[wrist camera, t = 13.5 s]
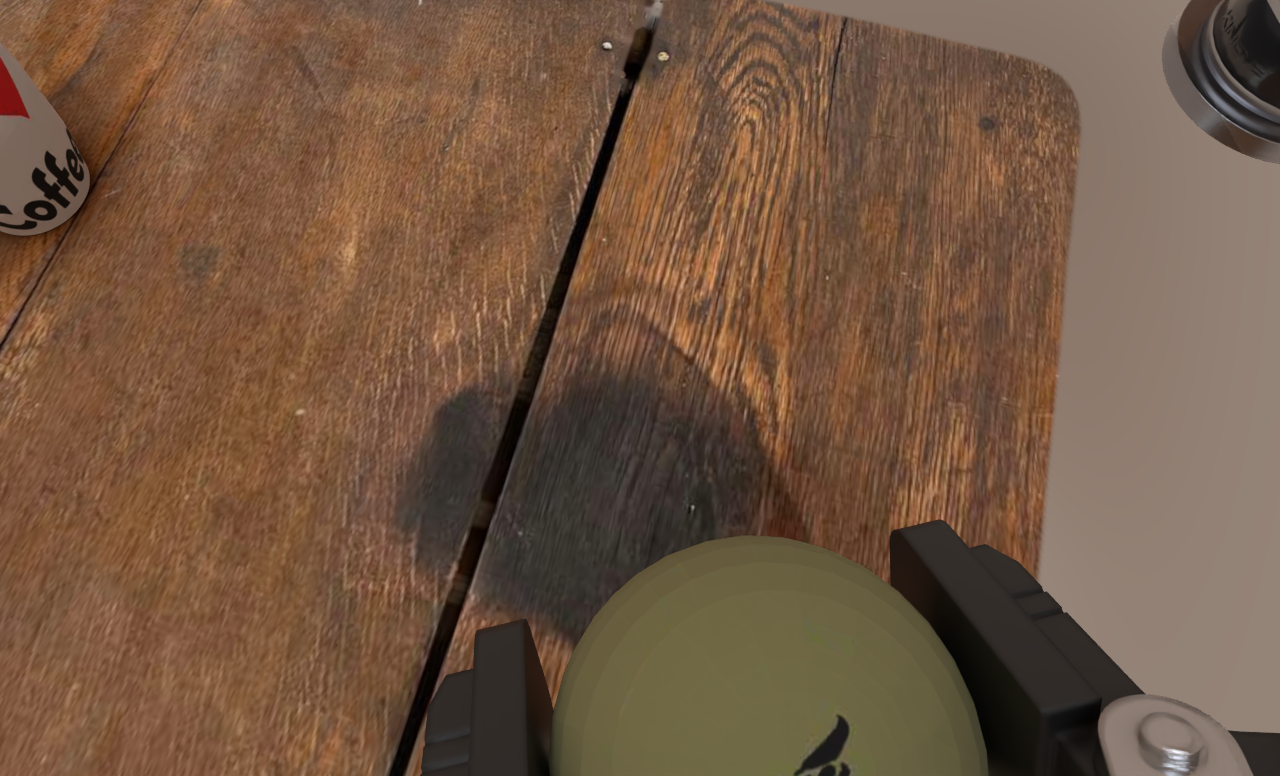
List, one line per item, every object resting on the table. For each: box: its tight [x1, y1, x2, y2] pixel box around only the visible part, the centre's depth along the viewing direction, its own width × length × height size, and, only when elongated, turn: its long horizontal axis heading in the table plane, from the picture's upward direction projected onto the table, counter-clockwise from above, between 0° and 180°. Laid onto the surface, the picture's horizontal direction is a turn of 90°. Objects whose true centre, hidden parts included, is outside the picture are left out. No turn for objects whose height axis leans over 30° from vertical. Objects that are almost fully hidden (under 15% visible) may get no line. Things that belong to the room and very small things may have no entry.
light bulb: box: [548, 535, 989, 776], centre depth 12 cm, size 6×6×10 cm
